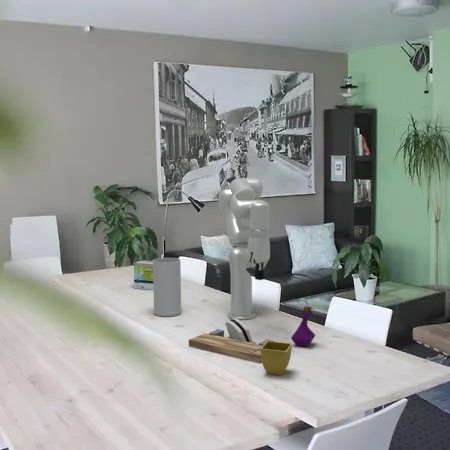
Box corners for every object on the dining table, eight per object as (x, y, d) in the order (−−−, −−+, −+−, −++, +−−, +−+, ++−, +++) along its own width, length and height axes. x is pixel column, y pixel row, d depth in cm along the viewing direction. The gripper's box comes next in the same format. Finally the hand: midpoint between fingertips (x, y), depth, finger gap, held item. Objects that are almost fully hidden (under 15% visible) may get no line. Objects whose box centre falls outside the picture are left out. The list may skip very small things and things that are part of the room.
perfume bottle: (315, 343, 220) (315, 297, 218) (309, 349, 213) (310, 301, 211) (296, 340, 223) (297, 295, 221) (290, 346, 216) (290, 299, 214)
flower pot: (292, 368, 193) (292, 343, 192) (286, 378, 185) (286, 351, 184) (267, 366, 196) (267, 340, 195) (260, 375, 188) (260, 348, 187)
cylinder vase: (149, 315, 261) (147, 261, 258) (162, 309, 272) (161, 257, 270) (173, 318, 256) (172, 263, 253) (185, 311, 268) (184, 258, 265)
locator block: (218, 336, 229) (217, 329, 229) (224, 337, 227) (224, 330, 227) (208, 340, 224) (208, 332, 224) (215, 341, 222) (214, 334, 222)
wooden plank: (204, 339, 225) (204, 332, 225) (274, 355, 207) (274, 347, 206) (188, 346, 217) (188, 339, 217) (260, 363, 199) (260, 355, 198)
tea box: (133, 289, 316) (133, 262, 314) (141, 285, 325) (140, 259, 323) (158, 290, 311) (158, 263, 310) (166, 286, 321) (165, 260, 319)
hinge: (258, 347, 216) (249, 323, 213) (247, 352, 214) (239, 329, 212) (240, 334, 231) (232, 312, 229) (230, 339, 230) (222, 318, 227)
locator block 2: (267, 347, 216) (267, 339, 215) (273, 348, 214) (273, 340, 214) (258, 351, 211) (258, 343, 210) (265, 352, 209) (265, 344, 209)
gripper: (261, 230, 233) (261, 274, 235) (240, 235, 221) (240, 281, 224) (277, 232, 229) (277, 277, 231) (256, 236, 217) (256, 284, 219)
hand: (259, 279), depth 227 cm, fingers closed
